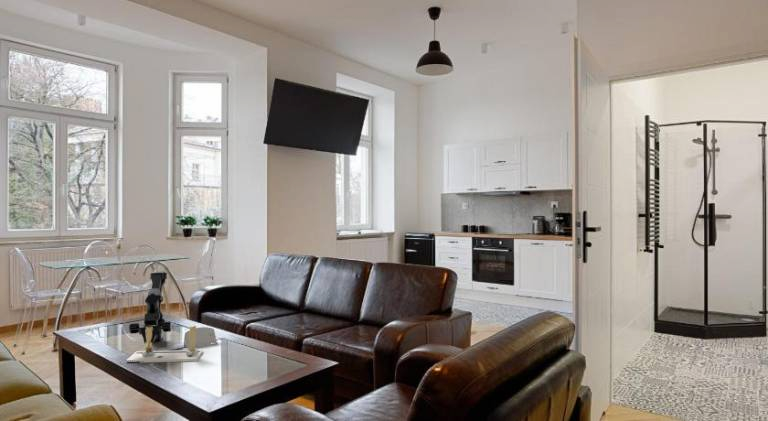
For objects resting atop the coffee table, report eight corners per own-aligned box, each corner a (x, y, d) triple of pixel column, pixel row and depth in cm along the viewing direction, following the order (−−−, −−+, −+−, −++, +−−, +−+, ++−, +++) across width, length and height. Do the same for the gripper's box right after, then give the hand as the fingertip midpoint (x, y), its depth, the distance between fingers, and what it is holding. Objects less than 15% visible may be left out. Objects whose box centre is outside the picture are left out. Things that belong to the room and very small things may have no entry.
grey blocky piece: (185, 347, 245) (184, 328, 248) (183, 348, 249) (182, 329, 252) (217, 343, 255) (216, 325, 258) (215, 344, 259) (213, 326, 262)
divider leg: (145, 352, 231) (146, 325, 231) (154, 352, 232) (155, 325, 232) (140, 357, 224) (141, 329, 224) (150, 356, 225) (151, 329, 225)
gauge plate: (136, 353, 234) (137, 324, 234) (202, 352, 239) (203, 323, 239) (125, 362, 220) (126, 331, 220) (196, 361, 225) (197, 330, 225)
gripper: (130, 307, 230) (125, 335, 219) (171, 305, 236) (168, 333, 225) (132, 319, 237) (127, 347, 227) (172, 317, 243) (169, 344, 233)
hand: (148, 342), depth 228 cm, fingers closed on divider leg, 3 cm apart
